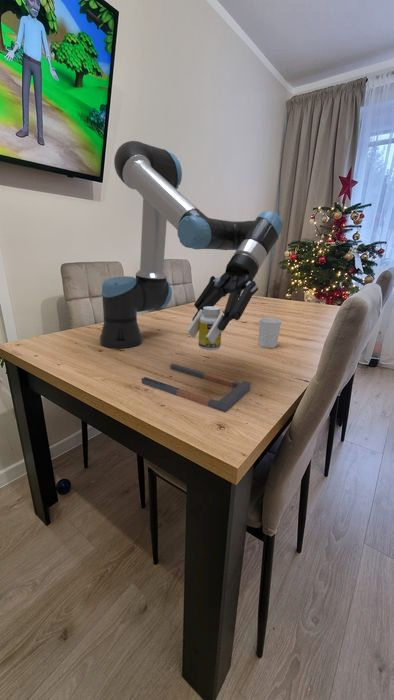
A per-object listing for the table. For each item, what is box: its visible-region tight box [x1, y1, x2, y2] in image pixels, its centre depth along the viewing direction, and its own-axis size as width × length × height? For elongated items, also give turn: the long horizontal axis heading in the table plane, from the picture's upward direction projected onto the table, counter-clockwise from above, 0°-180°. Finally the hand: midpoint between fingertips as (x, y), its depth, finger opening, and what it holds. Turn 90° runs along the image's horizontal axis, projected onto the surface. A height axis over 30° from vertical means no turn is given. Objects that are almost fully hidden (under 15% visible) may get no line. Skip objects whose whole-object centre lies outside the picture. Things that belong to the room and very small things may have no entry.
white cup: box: [258, 317, 282, 349], centre depth 115 cm, size 8×8×10 cm
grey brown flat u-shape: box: [141, 363, 252, 412], centre depth 80 cm, size 25×14×2 cm, turn 57°
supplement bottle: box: [197, 306, 222, 351], centre depth 73 cm, size 5×5×10 cm
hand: (199, 336), depth 71 cm, fingers closed on supplement bottle, 5 cm apart
